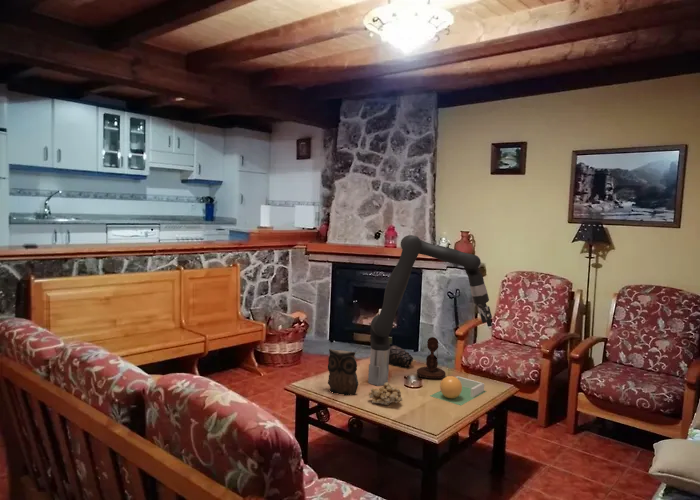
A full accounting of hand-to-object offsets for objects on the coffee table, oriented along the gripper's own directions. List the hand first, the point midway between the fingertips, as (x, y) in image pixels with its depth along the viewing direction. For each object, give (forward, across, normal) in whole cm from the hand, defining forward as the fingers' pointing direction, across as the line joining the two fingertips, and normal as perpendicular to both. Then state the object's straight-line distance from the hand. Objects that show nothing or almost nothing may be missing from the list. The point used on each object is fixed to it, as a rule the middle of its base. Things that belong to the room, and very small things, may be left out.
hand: (487, 324), depth 257 cm
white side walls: (+25, +11, -21) cm, 34 cm away
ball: (+17, +21, -29) cm, 40 cm away
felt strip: (+24, +15, -25) cm, 38 cm away
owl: (+8, +14, -77) cm, 78 cm away
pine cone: (+18, -30, -45) cm, 57 cm away
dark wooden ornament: (+22, -10, -33) cm, 41 cm away
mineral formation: (+14, +28, -60) cm, 67 cm away
